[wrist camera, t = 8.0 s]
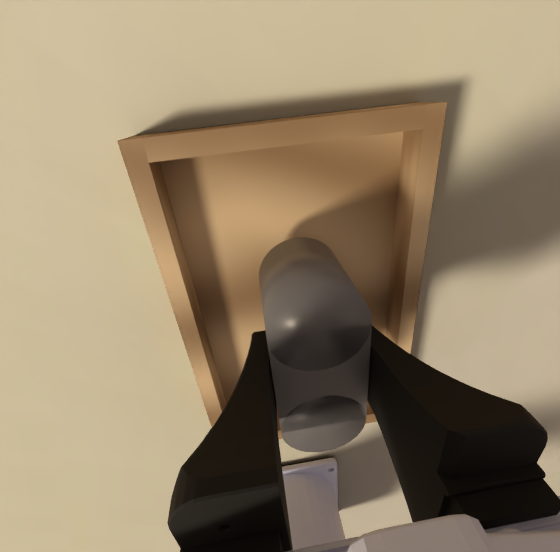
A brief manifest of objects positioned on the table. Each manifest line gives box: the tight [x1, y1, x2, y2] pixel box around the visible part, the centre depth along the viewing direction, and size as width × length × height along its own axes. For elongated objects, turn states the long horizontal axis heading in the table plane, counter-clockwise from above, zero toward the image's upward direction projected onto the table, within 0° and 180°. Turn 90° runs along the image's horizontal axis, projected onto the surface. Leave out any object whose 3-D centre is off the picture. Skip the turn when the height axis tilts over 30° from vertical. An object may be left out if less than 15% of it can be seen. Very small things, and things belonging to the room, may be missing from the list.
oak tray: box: [118, 102, 447, 439], centre depth 16 cm, size 18×12×2 cm, turn 6°
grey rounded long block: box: [259, 237, 372, 452], centre depth 14 cm, size 11×4×4 cm, turn 6°
